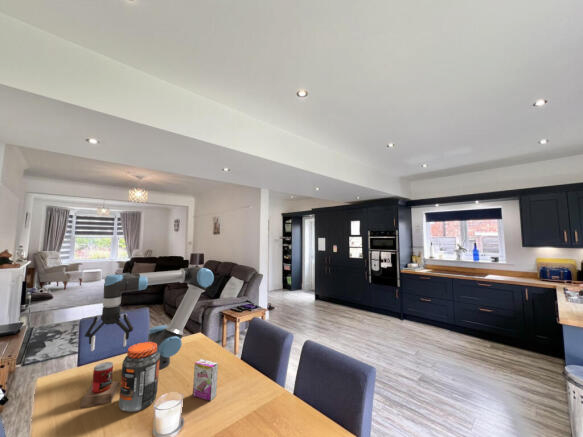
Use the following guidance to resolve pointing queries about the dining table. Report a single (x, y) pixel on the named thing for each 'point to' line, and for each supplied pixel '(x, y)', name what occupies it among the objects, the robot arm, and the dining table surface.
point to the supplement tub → (139, 377)
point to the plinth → (99, 396)
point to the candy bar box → (205, 379)
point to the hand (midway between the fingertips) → (108, 347)
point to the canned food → (102, 377)
